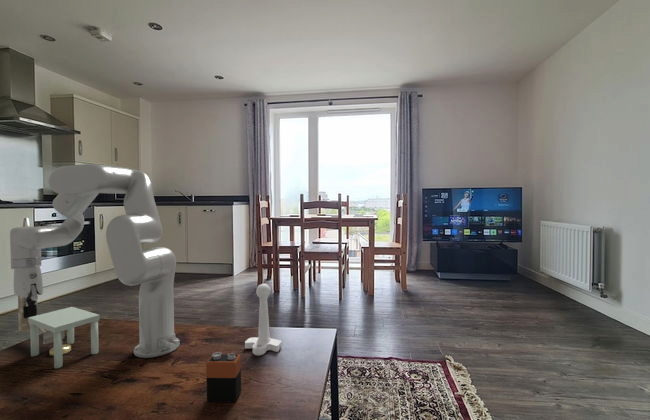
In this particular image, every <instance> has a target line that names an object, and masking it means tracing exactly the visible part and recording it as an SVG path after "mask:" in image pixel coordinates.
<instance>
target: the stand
mask: <svg viewBox="0 0 650 420" xmlns="http://www.w3.org/2000/svg"><path fill="white" fill-rule="evenodd" d="M100 318H101V317H100V314H98V313H94V312H91V311H88V310H85V309H80V308H78V307H75V306H70V307H66V308H61V309H57V310H53V311H49V312H46V313H41V314H38V315H37V316H33V317H29V318H28V323H30V331H29V332H30V333H29V334H30V335H29V336H30V357H36V356H38V355H40V342H39V341H40V335H39V331H40V330H38V327H41V328H43V329H46V330H48V331H51V332H53V338H54V342H53V347H54V356H53V366H54V367H53V368H54V369H60V368H62V367H63V366H64V365H63V363H64V361H63V360H64V359H63V355H64V354H62V345H63V339H62V331H64V330H65V331H66V344H70V345H72V344H74V343H75V328H76V327H80V326H83V325H86V324H90V353H91V355H96V354H98V353H99V351H100V350H99V349H100V348H99V321H100V320H101V319H100Z"/></svg>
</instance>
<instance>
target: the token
mask: <svg viewBox="0 0 650 420" xmlns="http://www.w3.org/2000/svg"><path fill="white" fill-rule="evenodd" d="M71 351H72V344H67V343H66V344H62V354H63V355H65V354H67V353H69V352H71ZM49 356H51V357H54V346H53V347H51V348H50V349H49Z"/></svg>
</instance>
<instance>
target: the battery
mask: <svg viewBox="0 0 650 420" xmlns="http://www.w3.org/2000/svg"><path fill="white" fill-rule="evenodd" d="M241 359H242V355H241V354H239V353H238V354H237V353H232V352H231V353H222V352H220V351H217V352H214V353H212V354H211V357H210V358H209V359H208V360H207V362H206V365H205V368H206V369H205V370H206V371H205V372H206V401H207V402H211V403H213V402H216V403H217V402H218V403H219V402H221V403H235V402H236V401H237V400H238V398H239V396H240V394H241V392H242V360H241Z"/></svg>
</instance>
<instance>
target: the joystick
mask: <svg viewBox="0 0 650 420" xmlns="http://www.w3.org/2000/svg"><path fill="white" fill-rule="evenodd" d="M255 290H256V291H255V293H256V296H257V297H258V299H259V306H258V332H257V334H258V335H257V337H254V336H253V337H249V338H247V339H246V340H245V341H244V348H245V349H252V354H253V355H255V356H262V355H264V354H266V352H267V351H272V352H277V353H278V352H279V351H280V350H282V349H283V343H282V342H283V341H282V340H281V339H276V338H271V334H270V321H269V320H270V319H269V318H270V317H269V306H268V298H269V296H270V295H271V291H272V289H271V286H270V285H269V284H267V283H261V284H258V286H256V289H255Z"/></svg>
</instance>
